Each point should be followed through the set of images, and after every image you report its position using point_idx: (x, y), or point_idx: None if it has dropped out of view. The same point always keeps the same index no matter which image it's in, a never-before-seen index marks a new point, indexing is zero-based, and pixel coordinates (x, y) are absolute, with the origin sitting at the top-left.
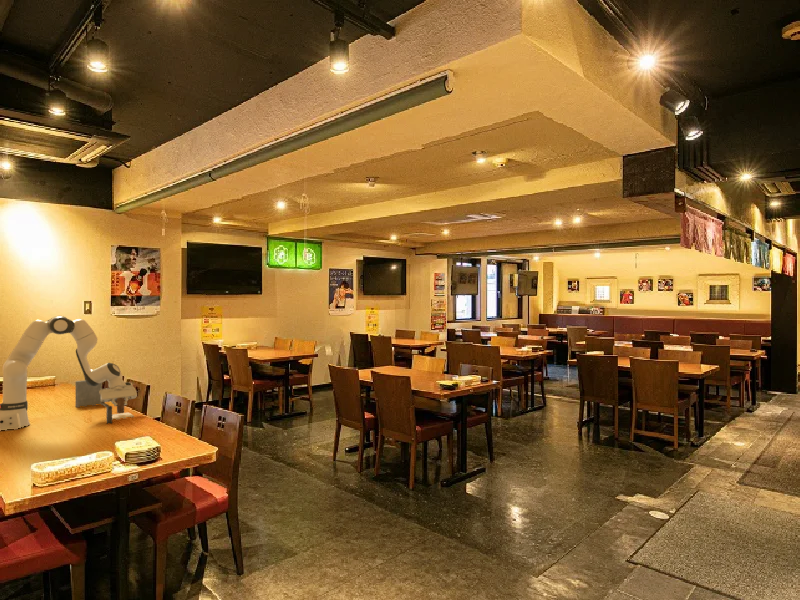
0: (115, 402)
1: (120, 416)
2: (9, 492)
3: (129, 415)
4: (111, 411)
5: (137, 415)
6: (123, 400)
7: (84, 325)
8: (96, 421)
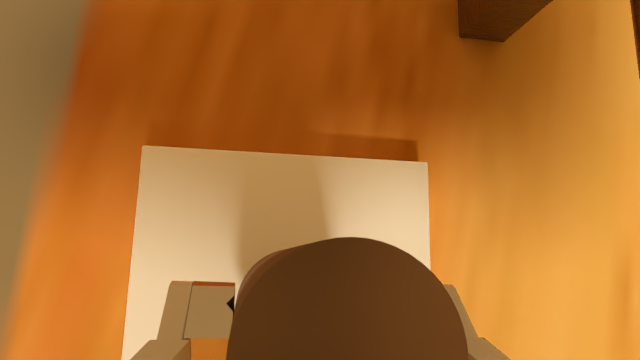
0: None
1: (314, 212)
2: None
3: (192, 190)
4: None
5: (60, 230)
6: (274, 261)
7: None
8: (577, 227)
